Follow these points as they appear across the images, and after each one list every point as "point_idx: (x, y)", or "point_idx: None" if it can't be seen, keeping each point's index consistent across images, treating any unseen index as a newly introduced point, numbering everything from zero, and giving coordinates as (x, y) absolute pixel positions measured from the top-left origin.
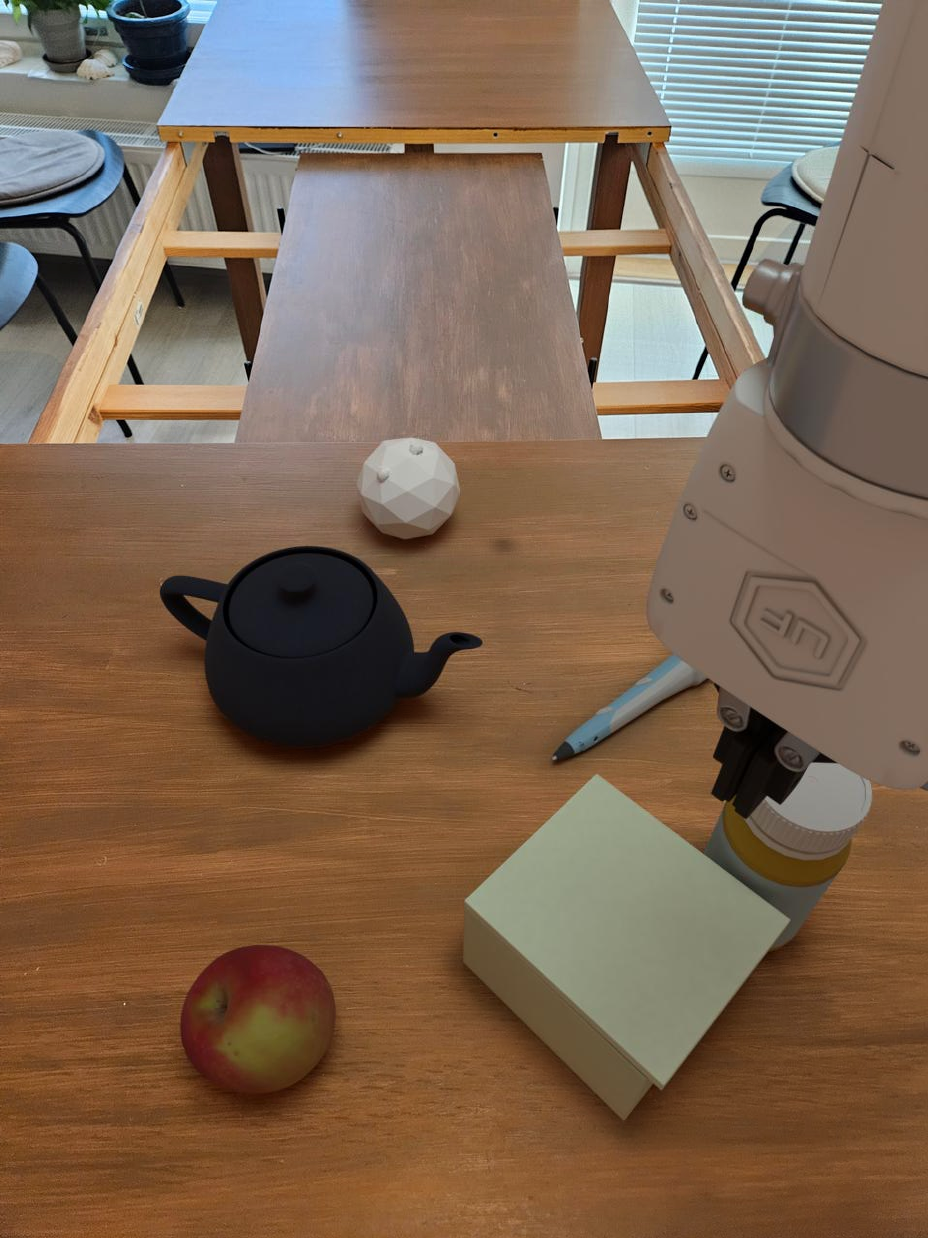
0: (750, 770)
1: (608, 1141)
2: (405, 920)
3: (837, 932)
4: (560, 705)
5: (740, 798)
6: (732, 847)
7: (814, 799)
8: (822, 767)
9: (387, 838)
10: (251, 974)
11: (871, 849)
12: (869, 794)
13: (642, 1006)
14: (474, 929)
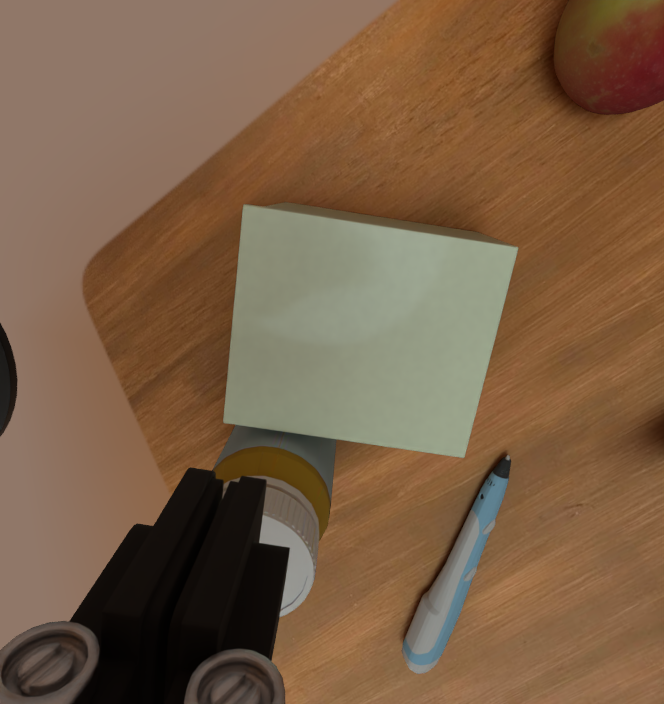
0: (175, 565)
1: (287, 179)
2: (550, 232)
3: (215, 446)
4: (530, 510)
5: (199, 497)
6: (300, 458)
7: None
8: None
9: (615, 292)
10: None
11: None
12: None
13: (298, 261)
14: (489, 239)
